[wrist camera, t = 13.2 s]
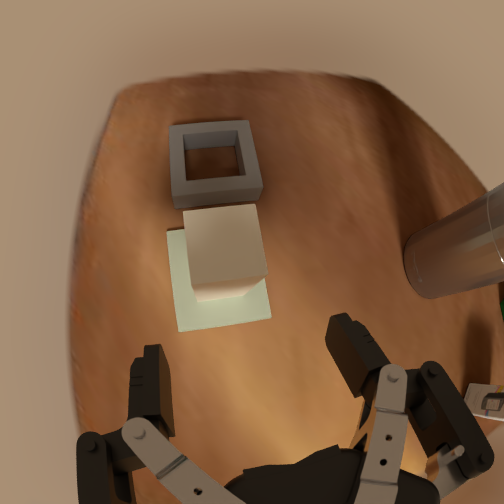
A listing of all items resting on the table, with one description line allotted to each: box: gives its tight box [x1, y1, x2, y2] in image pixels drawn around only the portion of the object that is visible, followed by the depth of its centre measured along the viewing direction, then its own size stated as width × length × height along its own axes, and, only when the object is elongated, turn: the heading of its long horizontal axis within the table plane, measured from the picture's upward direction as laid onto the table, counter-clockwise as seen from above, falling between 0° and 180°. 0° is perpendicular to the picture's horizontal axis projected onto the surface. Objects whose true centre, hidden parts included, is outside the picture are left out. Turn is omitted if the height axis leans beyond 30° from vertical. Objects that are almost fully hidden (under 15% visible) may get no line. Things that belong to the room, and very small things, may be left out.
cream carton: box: [183, 204, 268, 302], centre depth 22 cm, size 4×4×11 cm
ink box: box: [464, 383, 504, 421], centre depth 22 cm, size 9×5×12 cm, turn 64°
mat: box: [167, 229, 272, 332], centre depth 27 cm, size 9×10×1 cm
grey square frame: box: [169, 120, 263, 209], centre depth 29 cm, size 9×9×3 cm
